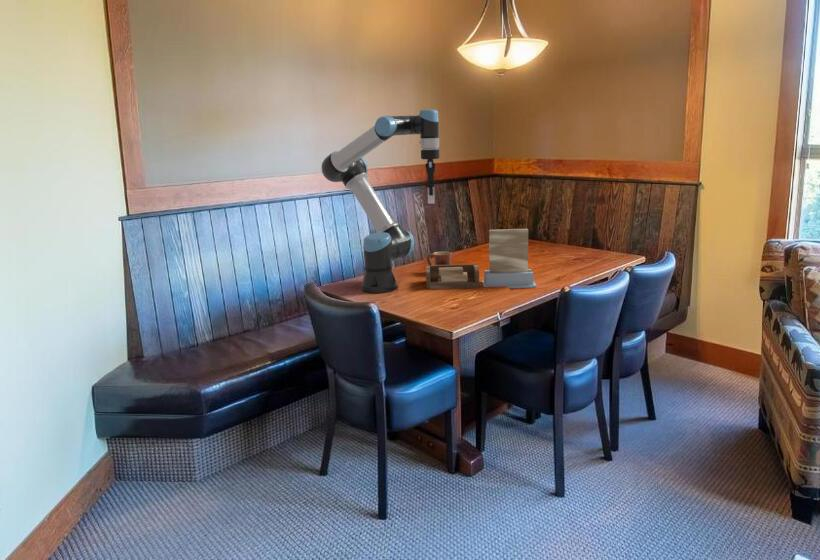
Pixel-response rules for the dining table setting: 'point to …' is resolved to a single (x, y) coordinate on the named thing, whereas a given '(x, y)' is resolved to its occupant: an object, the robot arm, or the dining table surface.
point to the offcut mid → (455, 277)
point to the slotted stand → (509, 279)
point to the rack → (433, 277)
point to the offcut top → (450, 271)
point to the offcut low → (451, 281)
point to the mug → (440, 258)
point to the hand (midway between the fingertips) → (431, 201)
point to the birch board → (508, 251)
